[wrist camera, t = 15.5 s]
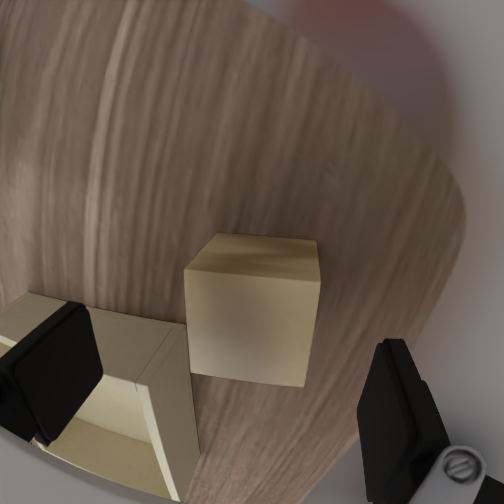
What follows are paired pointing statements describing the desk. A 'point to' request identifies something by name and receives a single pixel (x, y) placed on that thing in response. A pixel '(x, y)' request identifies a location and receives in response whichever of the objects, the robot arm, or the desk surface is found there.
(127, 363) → the cream bin
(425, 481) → the robot arm
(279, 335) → the maple block
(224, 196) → the desk surface
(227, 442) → the desk surface
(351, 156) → the desk surface
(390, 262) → the desk surface
